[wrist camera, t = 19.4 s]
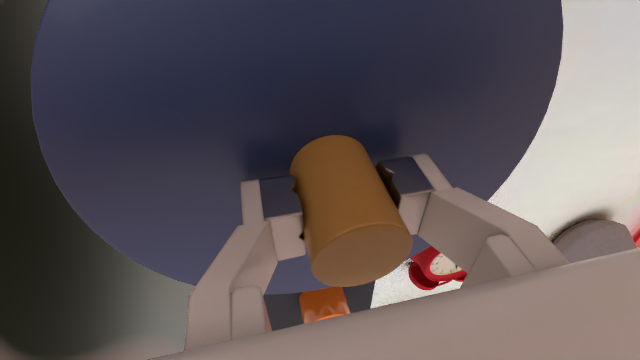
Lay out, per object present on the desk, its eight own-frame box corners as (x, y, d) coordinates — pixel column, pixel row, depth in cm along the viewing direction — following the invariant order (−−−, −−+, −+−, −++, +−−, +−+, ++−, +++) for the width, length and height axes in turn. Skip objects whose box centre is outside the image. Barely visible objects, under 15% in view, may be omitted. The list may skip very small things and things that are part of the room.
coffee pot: (553, 223, 49) (649, 321, 38) (624, 201, 49) (738, 291, 38) (517, 290, 63) (579, 374, 53) (572, 273, 64) (644, 352, 53)
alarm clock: (513, 216, 37) (491, 304, 45) (478, 188, 43) (464, 271, 50) (428, 235, 36) (420, 323, 43) (403, 204, 41) (400, 287, 49)
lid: (-163, -179, 5) (-910, -288, 2) (646, -172, 7) (1003, -215, 4) (165, 298, 15) (149, 416, 12) (459, 239, 18) (515, 324, 14)
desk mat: (251, 264, 38) (252, 267, 38) (381, 237, 41) (382, 240, 40) (271, 335, 52) (272, 338, 51) (368, 312, 54) (369, 314, 54)
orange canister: (297, 288, 43) (308, 345, 38) (343, 277, 44) (361, 332, 39) (299, 311, 48) (310, 365, 42) (342, 301, 49) (358, 352, 43)
